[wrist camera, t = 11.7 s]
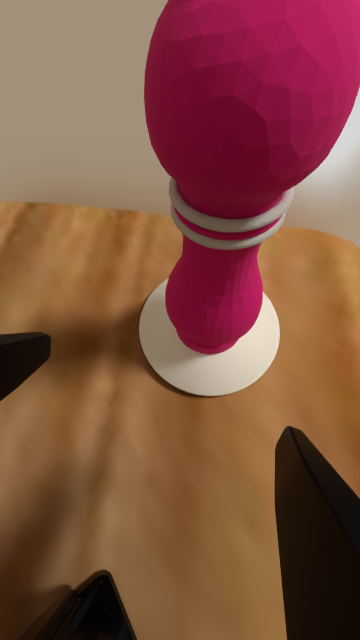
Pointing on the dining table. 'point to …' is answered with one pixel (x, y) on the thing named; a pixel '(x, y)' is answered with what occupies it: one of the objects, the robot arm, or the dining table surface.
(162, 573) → the dining table surface
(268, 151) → the pepper mill
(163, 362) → the ceramic plate
